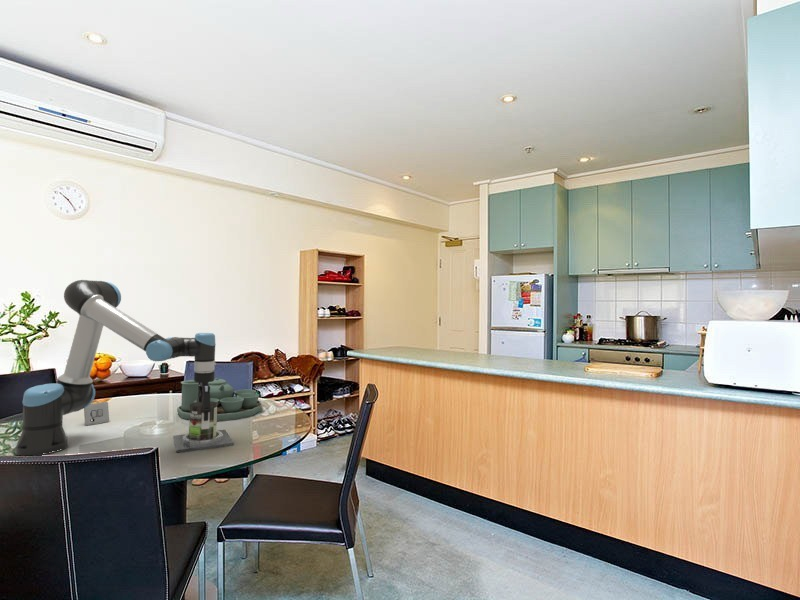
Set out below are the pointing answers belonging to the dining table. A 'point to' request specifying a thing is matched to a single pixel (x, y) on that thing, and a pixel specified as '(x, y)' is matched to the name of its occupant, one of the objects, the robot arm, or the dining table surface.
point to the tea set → (221, 400)
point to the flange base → (202, 442)
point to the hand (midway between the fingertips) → (203, 424)
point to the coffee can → (196, 422)
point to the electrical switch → (96, 413)
